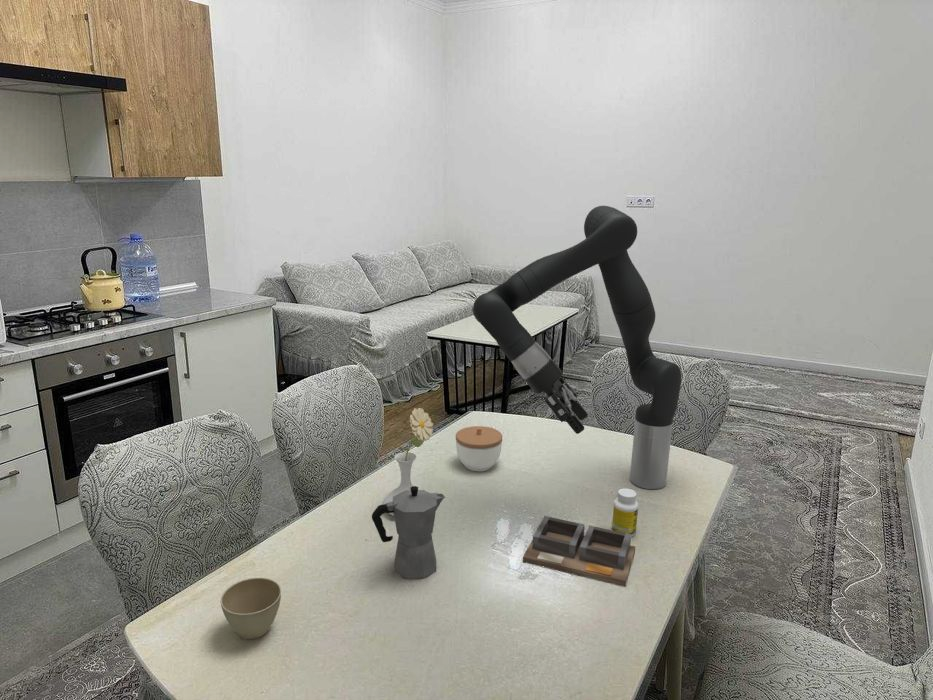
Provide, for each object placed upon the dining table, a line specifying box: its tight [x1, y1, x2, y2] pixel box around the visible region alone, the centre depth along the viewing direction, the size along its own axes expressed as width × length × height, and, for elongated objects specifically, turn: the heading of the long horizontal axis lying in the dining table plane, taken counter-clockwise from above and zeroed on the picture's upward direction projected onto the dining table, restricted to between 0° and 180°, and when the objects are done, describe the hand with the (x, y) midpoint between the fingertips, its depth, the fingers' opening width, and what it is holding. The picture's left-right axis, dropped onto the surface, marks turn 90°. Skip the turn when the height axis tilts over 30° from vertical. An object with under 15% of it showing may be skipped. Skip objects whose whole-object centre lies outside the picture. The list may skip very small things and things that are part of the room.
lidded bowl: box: [455, 425, 503, 472], centre depth 176 cm, size 13×13×11 cm
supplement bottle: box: [610, 488, 639, 538], centre depth 145 cm, size 5×5×10 cm
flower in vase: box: [381, 407, 434, 517], centre depth 151 cm, size 13×11×25 cm
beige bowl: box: [220, 577, 282, 640], centre depth 113 cm, size 10×10×7 cm
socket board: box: [522, 515, 636, 587], centre depth 136 cm, size 13×21×4 cm, turn 68°
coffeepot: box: [371, 485, 446, 580], centre depth 130 cm, size 15×9×18 cm, turn 116°
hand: (583, 424), depth 142 cm, fingers open, 8 cm apart
